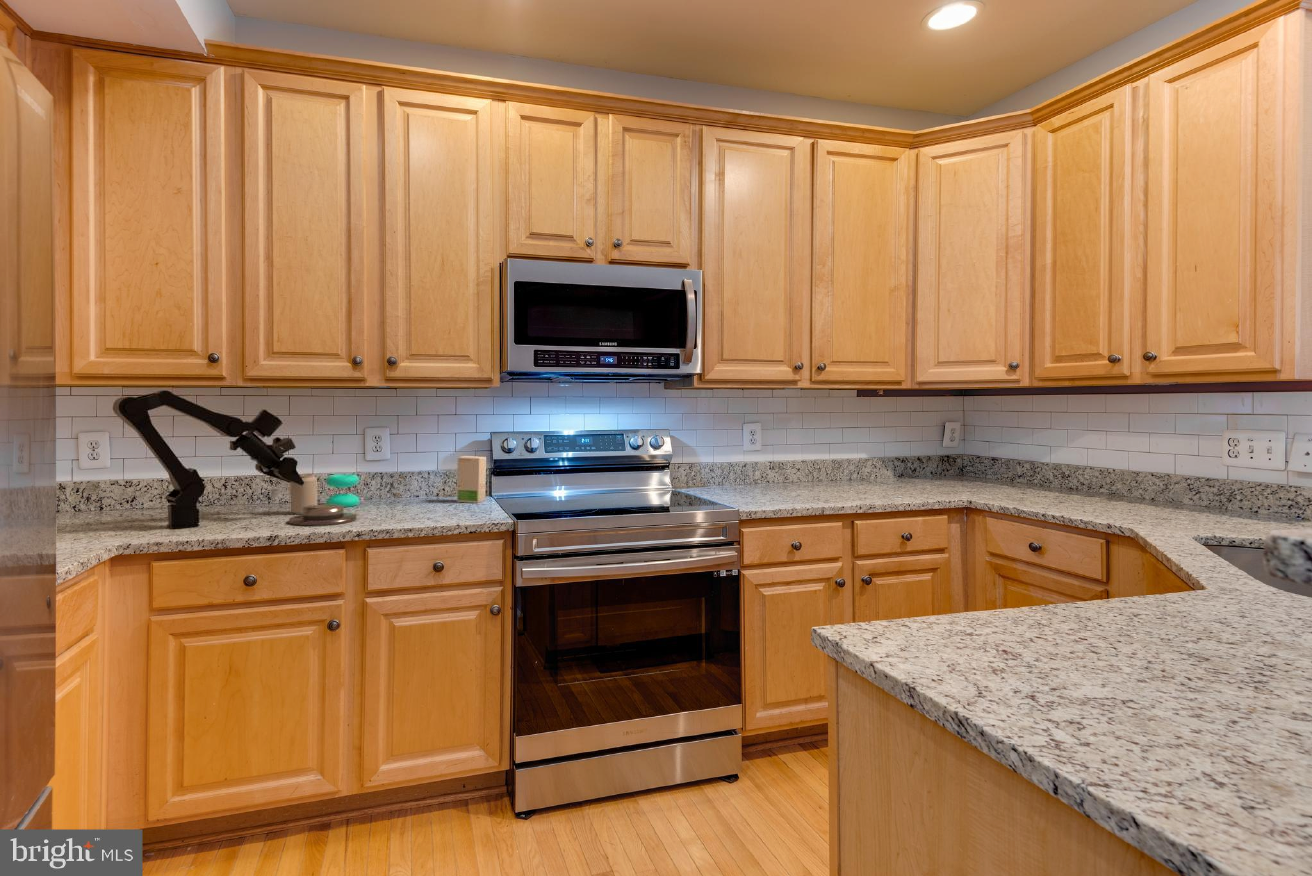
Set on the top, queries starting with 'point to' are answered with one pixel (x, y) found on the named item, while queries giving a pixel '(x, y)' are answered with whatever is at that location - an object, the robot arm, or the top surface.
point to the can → (303, 493)
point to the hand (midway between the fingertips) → (296, 482)
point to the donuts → (343, 481)
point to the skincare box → (471, 479)
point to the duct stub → (322, 516)
